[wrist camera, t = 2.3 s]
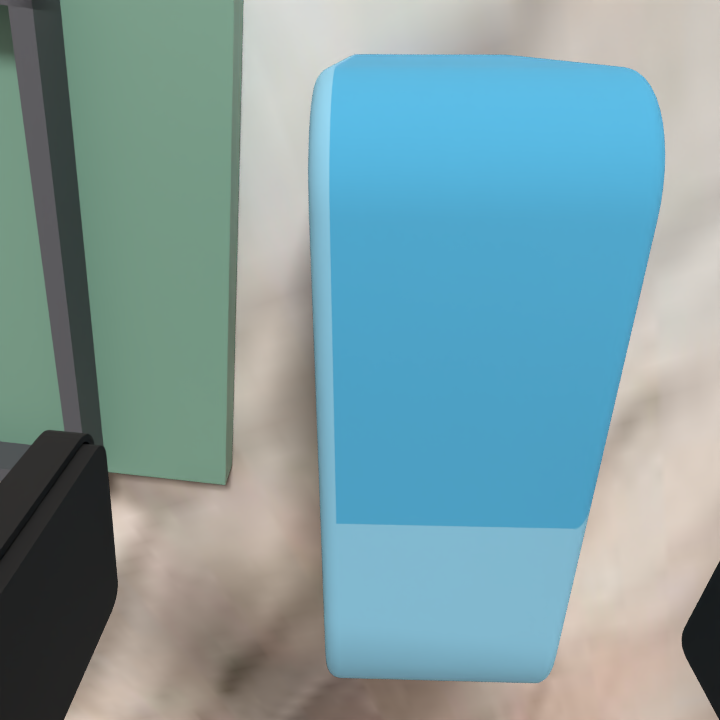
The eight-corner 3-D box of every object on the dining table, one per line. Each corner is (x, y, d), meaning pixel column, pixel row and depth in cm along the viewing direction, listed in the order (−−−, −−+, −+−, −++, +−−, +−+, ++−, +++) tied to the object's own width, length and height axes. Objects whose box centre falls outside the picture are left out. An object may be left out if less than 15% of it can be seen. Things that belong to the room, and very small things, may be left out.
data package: (469, 407, 23) (545, 720, 12) (350, 405, 23) (326, 713, 13) (505, 53, 17) (700, 72, 7) (348, 53, 18) (301, 71, 7)
